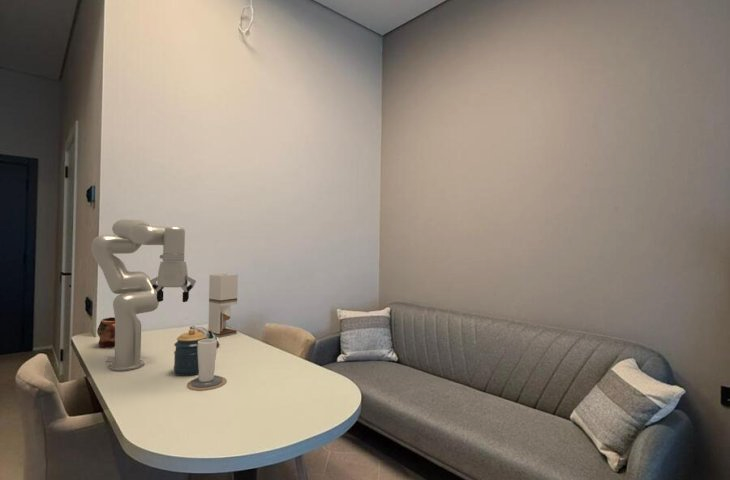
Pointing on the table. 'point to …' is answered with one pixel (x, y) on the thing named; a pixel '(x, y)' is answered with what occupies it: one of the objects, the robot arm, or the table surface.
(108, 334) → the decorative planter
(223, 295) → the notched white tower
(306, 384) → the table surface
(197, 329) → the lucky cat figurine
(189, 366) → the canister
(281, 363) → the table surface
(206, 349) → the drinking glass
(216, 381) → the round coaster
